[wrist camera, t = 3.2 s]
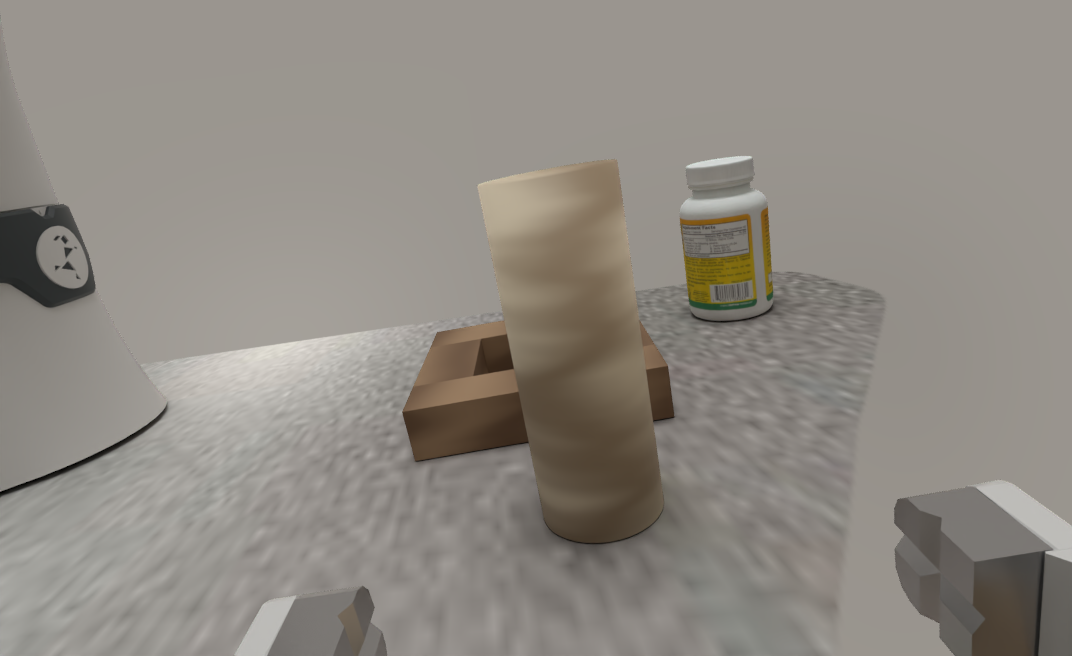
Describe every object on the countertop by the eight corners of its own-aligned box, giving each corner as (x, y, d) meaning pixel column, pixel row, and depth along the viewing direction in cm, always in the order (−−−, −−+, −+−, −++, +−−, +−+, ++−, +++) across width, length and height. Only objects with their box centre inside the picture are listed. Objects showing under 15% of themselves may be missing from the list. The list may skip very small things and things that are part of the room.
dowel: (545, 552, 21) (471, 190, 18) (541, 484, 25) (481, 180, 22) (676, 530, 21) (627, 161, 18) (650, 465, 25) (607, 157, 22)
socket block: (415, 461, 29) (402, 411, 29) (445, 369, 41) (437, 332, 40) (674, 416, 29) (667, 365, 28) (631, 336, 40) (626, 298, 40)
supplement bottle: (731, 328, 39) (716, 167, 36) (673, 314, 43) (655, 171, 40) (793, 303, 41) (783, 150, 38) (731, 293, 45) (719, 155, 43)
